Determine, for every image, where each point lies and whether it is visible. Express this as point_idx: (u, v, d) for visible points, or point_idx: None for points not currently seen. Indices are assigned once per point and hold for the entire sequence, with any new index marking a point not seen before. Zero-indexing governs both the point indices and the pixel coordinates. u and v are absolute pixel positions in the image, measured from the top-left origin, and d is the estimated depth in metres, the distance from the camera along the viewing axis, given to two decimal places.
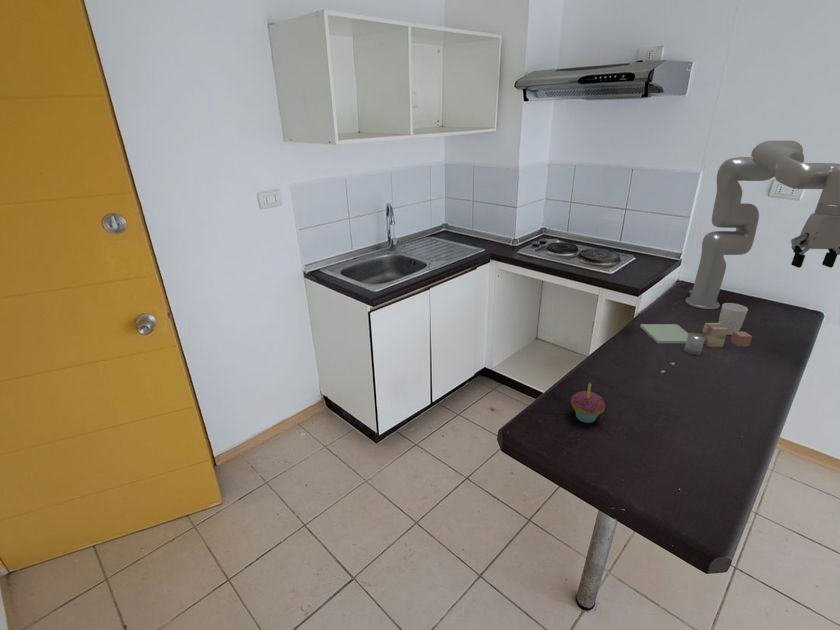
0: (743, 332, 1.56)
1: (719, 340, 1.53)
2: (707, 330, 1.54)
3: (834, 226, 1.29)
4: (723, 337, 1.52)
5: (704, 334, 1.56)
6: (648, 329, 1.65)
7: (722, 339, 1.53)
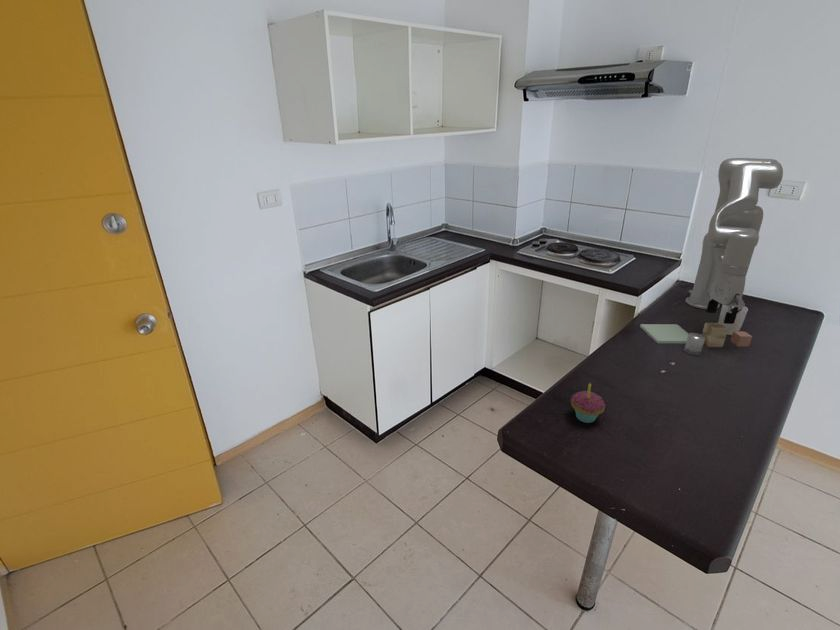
0: (743, 332, 1.56)
1: (719, 340, 1.53)
2: (707, 330, 1.54)
3: None
4: (723, 337, 1.52)
5: (704, 334, 1.56)
6: (648, 329, 1.65)
7: (722, 339, 1.53)
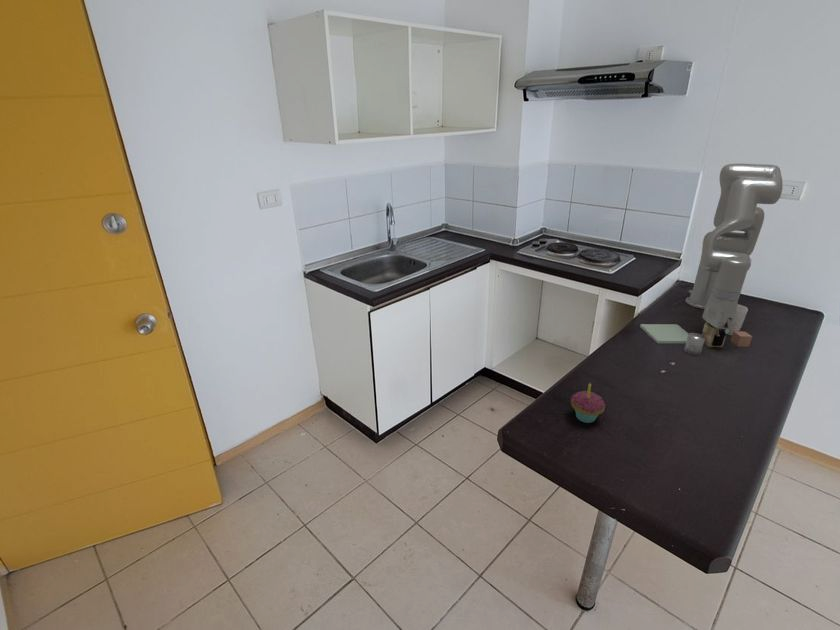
0: (743, 332, 1.56)
1: None
2: (707, 330, 1.54)
3: None
4: None
5: (704, 334, 1.56)
6: (648, 329, 1.65)
7: None
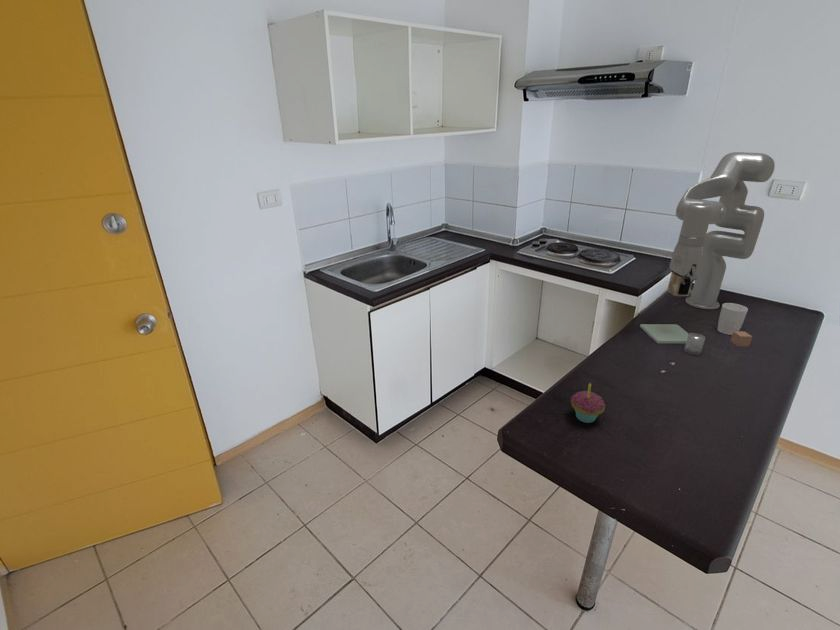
0: (743, 332, 1.56)
1: None
2: (673, 279, 1.54)
3: None
4: None
5: (671, 284, 1.56)
6: (648, 329, 1.65)
7: None
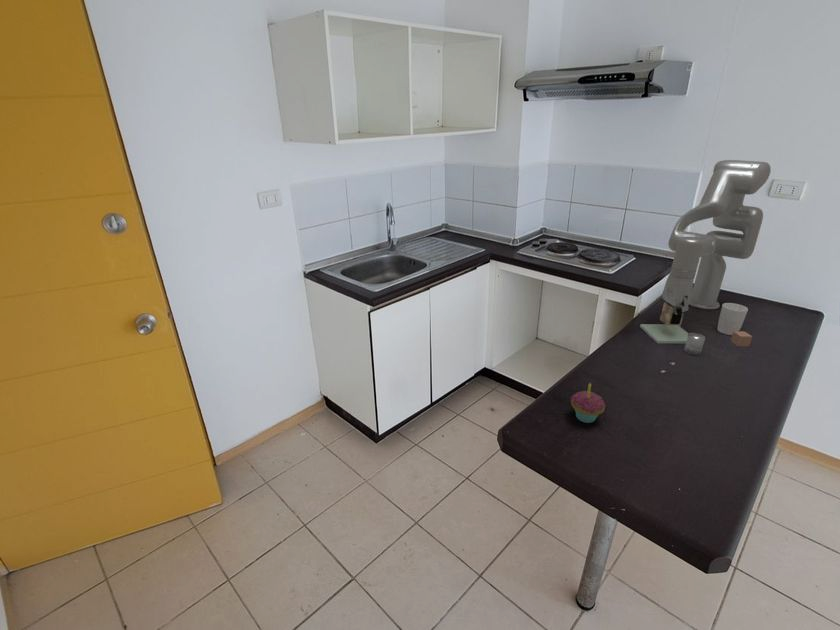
0: (743, 332, 1.56)
1: None
2: (666, 309, 1.59)
3: None
4: None
5: (663, 313, 1.60)
6: (648, 329, 1.65)
7: None
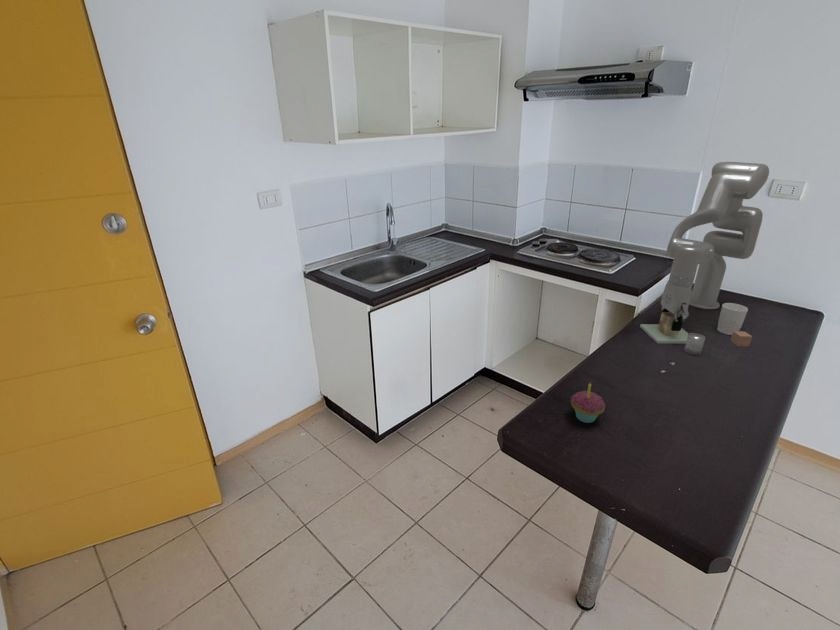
0: (743, 332, 1.56)
1: None
2: (663, 319, 1.61)
3: None
4: None
5: (661, 323, 1.62)
6: (648, 329, 1.65)
7: None
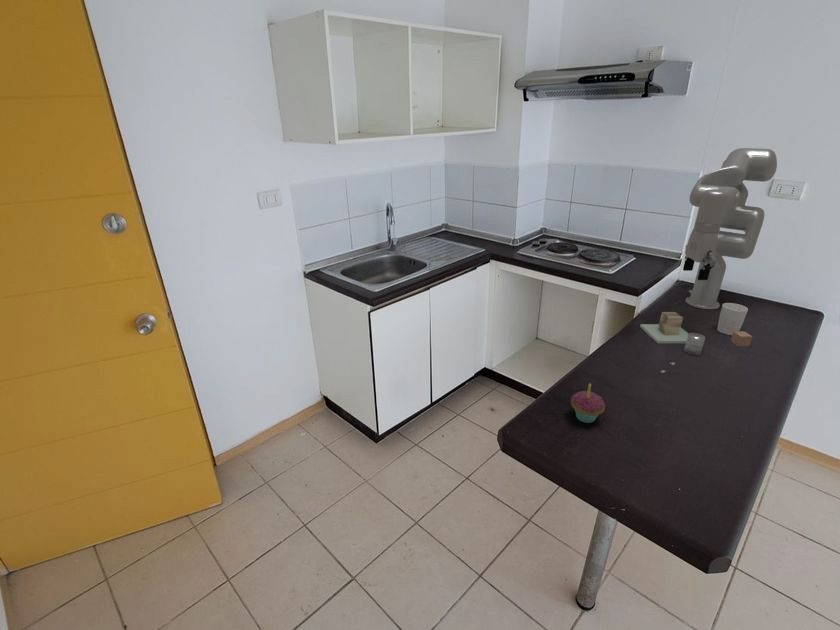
0: (743, 332, 1.56)
1: (674, 328, 1.59)
2: (663, 319, 1.61)
3: None
4: (678, 325, 1.59)
5: (661, 323, 1.62)
6: (648, 329, 1.65)
7: (677, 327, 1.59)
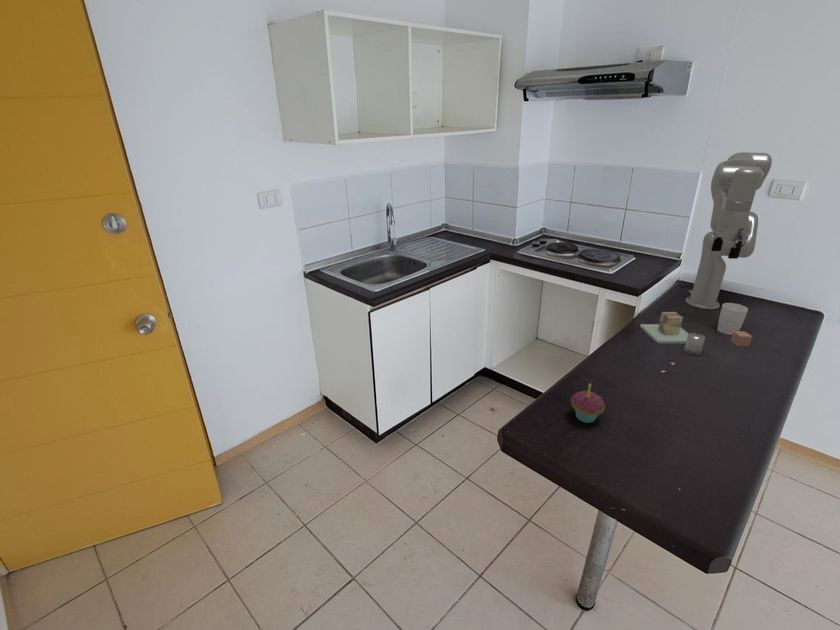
0: (743, 332, 1.56)
1: (674, 328, 1.59)
2: (663, 319, 1.61)
3: None
4: (678, 325, 1.59)
5: (661, 323, 1.62)
6: (648, 329, 1.65)
7: (677, 327, 1.59)
